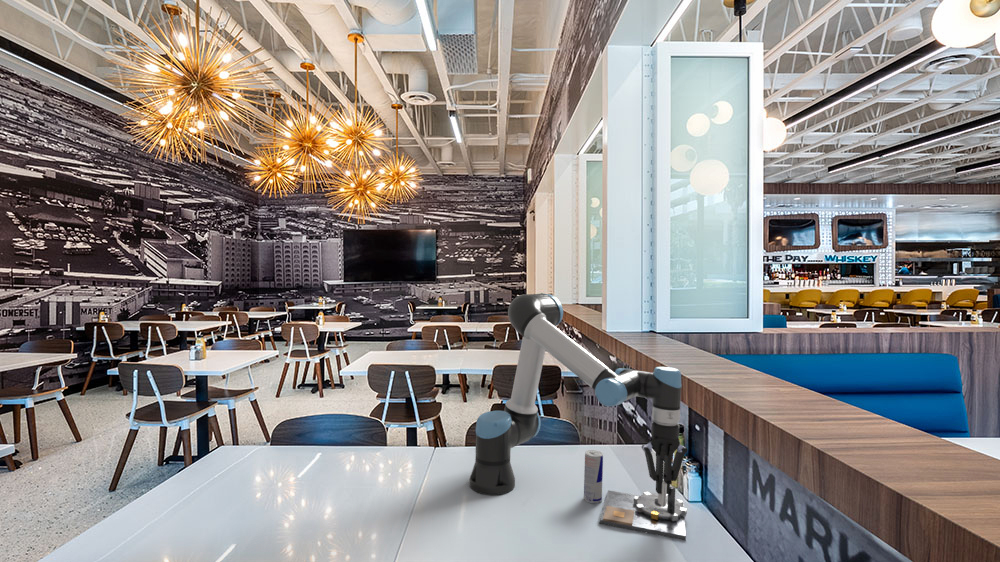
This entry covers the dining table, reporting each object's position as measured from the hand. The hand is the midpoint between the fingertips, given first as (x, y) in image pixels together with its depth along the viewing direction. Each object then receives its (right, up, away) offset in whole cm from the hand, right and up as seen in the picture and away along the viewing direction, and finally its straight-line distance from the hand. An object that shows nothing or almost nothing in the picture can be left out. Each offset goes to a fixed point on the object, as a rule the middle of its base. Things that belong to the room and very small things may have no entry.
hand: (662, 504), depth 139 cm
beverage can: (-17, -5, +14) cm, 23 cm away
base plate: (-4, -6, +5) cm, 8 cm away
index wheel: (+1, -4, +6) cm, 8 cm away
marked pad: (-12, -4, +2) cm, 13 cm away
